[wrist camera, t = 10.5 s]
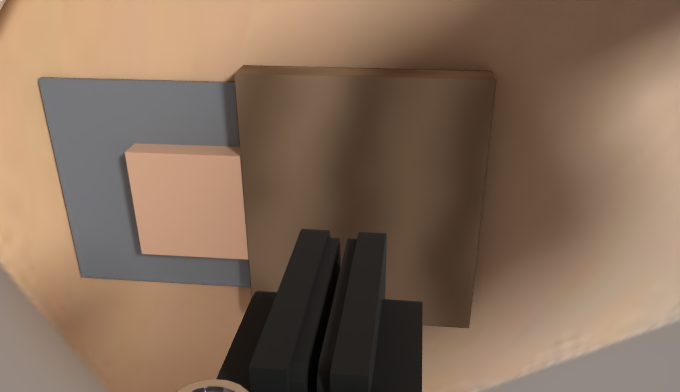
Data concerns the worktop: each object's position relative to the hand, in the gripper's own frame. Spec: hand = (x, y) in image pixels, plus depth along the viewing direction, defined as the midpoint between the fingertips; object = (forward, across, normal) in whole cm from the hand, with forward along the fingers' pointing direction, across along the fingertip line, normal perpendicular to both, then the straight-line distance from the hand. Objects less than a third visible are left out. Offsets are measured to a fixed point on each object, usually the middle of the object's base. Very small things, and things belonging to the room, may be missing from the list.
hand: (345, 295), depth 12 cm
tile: (+23, +12, +10) cm, 28 cm away
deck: (+24, +2, +10) cm, 26 cm away
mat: (+24, +15, +9) cm, 30 cm away
